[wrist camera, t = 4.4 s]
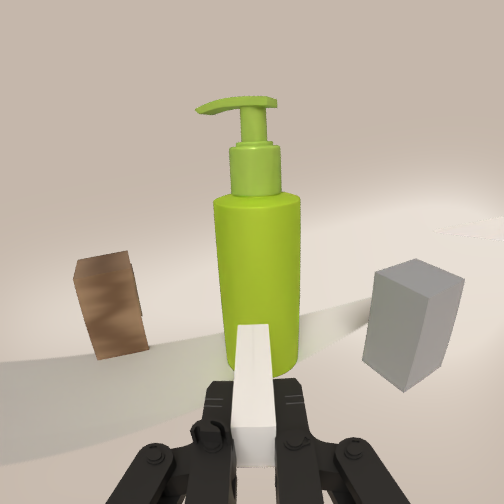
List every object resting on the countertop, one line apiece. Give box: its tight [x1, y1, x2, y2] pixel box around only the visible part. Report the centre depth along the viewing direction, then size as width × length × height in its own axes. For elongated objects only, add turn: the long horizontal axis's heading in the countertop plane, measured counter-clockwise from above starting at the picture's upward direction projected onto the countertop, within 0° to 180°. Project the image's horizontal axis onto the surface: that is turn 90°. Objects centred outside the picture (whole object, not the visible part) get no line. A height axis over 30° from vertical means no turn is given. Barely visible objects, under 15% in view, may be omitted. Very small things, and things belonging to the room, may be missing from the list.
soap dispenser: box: [195, 96, 301, 378], centre depth 23 cm, size 6×7×20 cm
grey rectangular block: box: [362, 259, 465, 393], centre depth 22 cm, size 5×5×8 cm
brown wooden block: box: [73, 251, 149, 360], centre depth 27 cm, size 5×5×8 cm
